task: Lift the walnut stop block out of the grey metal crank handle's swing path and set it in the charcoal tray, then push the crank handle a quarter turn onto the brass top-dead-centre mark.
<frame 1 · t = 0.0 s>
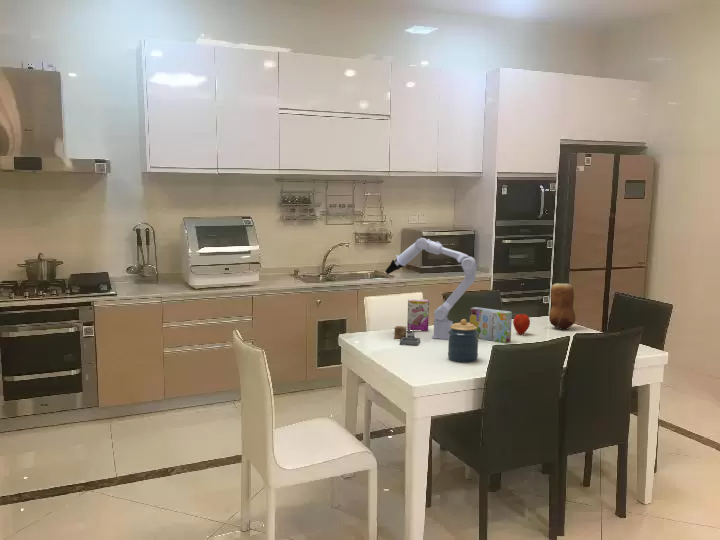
hand: (388, 271, 313), 32 cm above the table, tool tilted 50°, fingers open, 7 cm apart
snack box: (489, 339, 306), on the table
butternut squash: (561, 329, 332), on the table
candy bar box: (417, 330, 325), on the table
canister: (462, 359, 267), on the table
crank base: (411, 338, 307), on the table
crank lever: (410, 333, 304), point 3 cm above the table, hinge at 0.0°
stop block: (400, 339, 305), on the table
tray: (409, 343, 295), on the table
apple: (521, 334, 317), on the table
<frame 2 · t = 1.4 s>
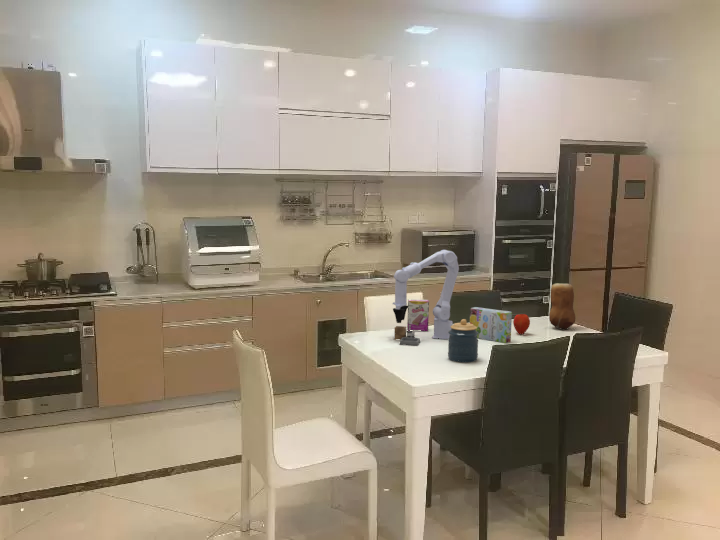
hand: (400, 321, 304), 9 cm above the table, tool pointing down, fingers open, 7 cm apart
nothing on the table moved.
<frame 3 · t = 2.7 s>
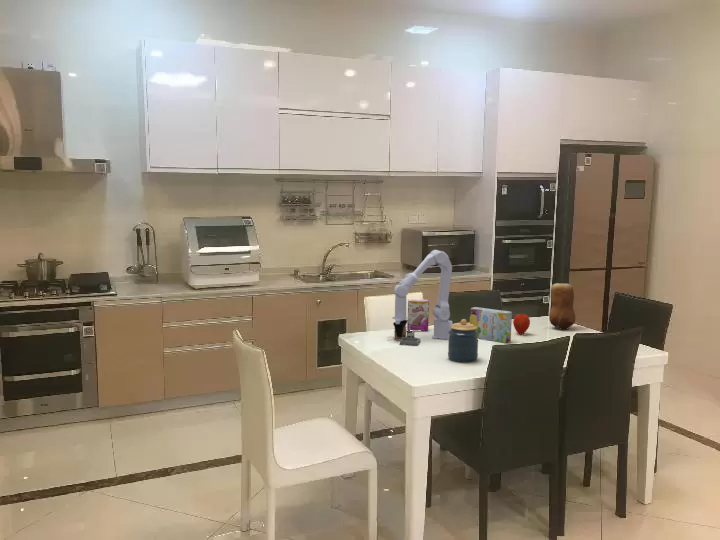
hand: (400, 335, 305), 2 cm above the table, tool pointing down, fingers closed on stop block, 4 cm apart
stop block: (400, 338, 305), on the table, touching gripper
everything else where it was.
when the fingers open (4 cm above the table, at t = 6.0 s): stop block drops 1 cm, resting on tray.
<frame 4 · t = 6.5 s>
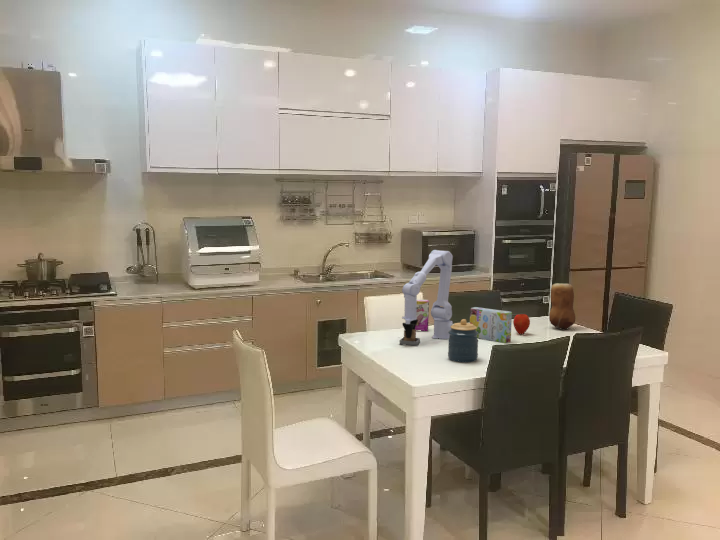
hand: (410, 336, 295), 4 cm above the table, tool pointing down, fingers open, 7 cm apart
stop block: (409, 342, 296), resting on tray
everything else where it was.
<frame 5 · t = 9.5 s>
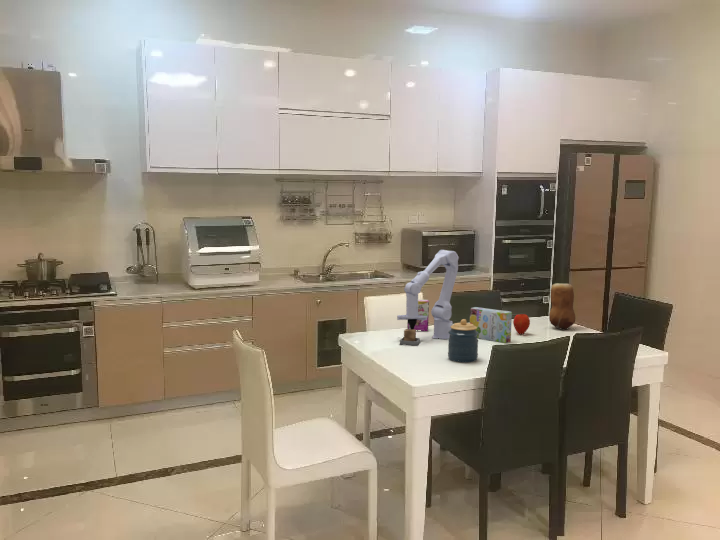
hand: (411, 334, 301), 3 cm above the table, tool pointing down, fingers closed, pressing on crank lever
crank lever: (409, 333, 304), point 3 cm above the table, hinge at -7.5°, touching gripper
everything else where it was.
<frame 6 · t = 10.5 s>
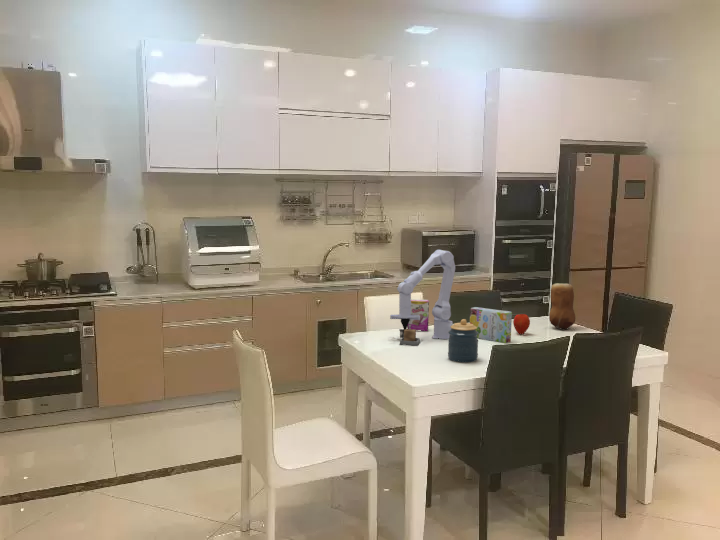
hand: (405, 333, 302), 3 cm above the table, tool pointing down, fingers closed, pressing on crank lever
crank lever: (406, 333, 306), point 3 cm above the table, hinge at -53.4°, touching gripper
everything else where it was.
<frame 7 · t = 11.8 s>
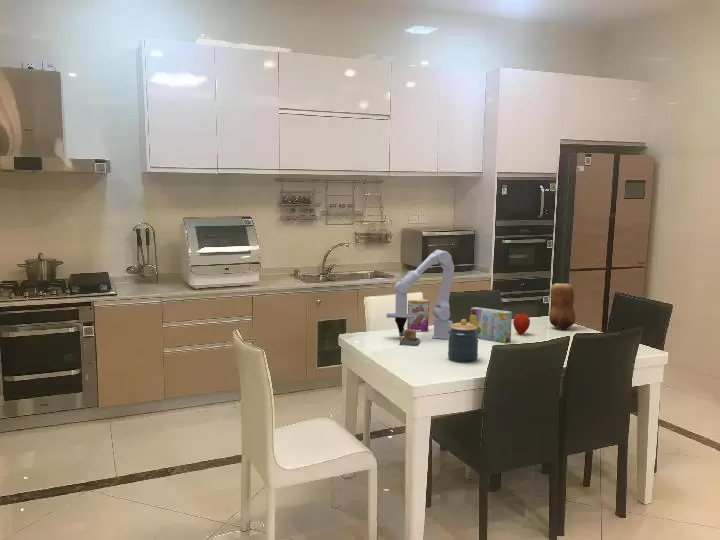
hand: (400, 332, 305), 3 cm above the table, tool pointing down, fingers closed
crank lever: (406, 332, 307), point 3 cm above the table, hinge at -90.9°
everything else where it was.
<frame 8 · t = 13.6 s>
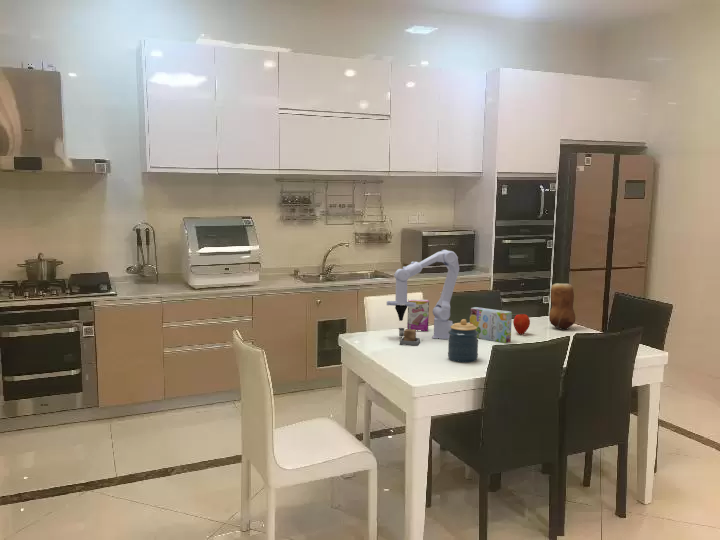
hand: (401, 320, 304), 9 cm above the table, tool pointing down, fingers closed
nothing on the table moved.
at the end: crank lever at -91° (first picture: +0°); stop block 0.1 cm off-centre on the tray, point 0.5 cm above the tray's base; stop block tilted 0° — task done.
